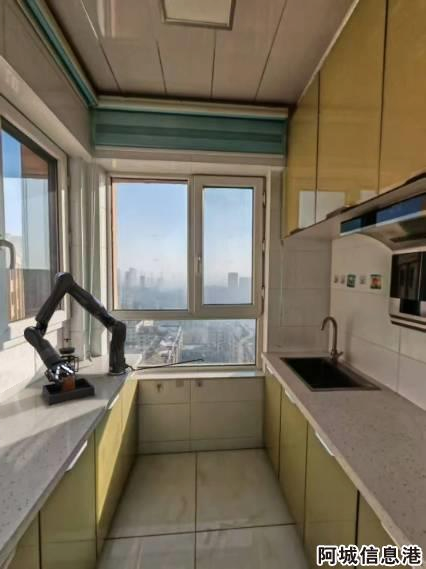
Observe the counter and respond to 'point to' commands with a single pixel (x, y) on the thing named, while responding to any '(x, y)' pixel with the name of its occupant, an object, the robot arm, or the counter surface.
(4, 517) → the counter surface
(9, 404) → the counter surface
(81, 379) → the dark square tray
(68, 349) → the french press
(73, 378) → the brown cup
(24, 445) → the counter surface
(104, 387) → the counter surface
